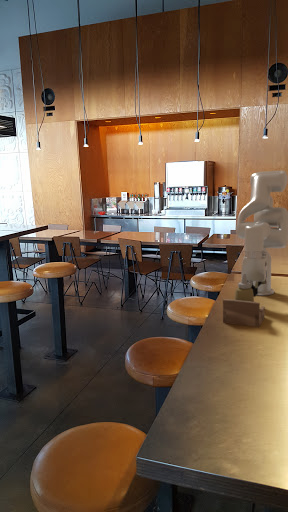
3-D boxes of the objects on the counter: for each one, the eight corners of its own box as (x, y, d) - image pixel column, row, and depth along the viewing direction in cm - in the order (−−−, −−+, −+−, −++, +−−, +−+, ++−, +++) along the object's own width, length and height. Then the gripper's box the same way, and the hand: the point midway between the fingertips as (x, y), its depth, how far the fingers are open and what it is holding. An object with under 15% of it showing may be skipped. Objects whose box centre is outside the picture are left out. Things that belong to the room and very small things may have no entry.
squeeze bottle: (254, 322, 139) (255, 276, 136) (232, 321, 141) (232, 276, 138) (255, 315, 146) (255, 272, 143) (234, 314, 149) (234, 271, 146)
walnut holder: (231, 313, 150) (231, 292, 149) (264, 317, 144) (264, 295, 142) (223, 322, 141) (222, 299, 139) (258, 327, 134) (258, 303, 133)
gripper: (274, 253, 152) (273, 294, 156) (238, 251, 159) (238, 291, 164) (270, 257, 146) (270, 300, 150) (233, 255, 153) (234, 296, 157)
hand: (253, 295), depth 157 cm, fingers closed
